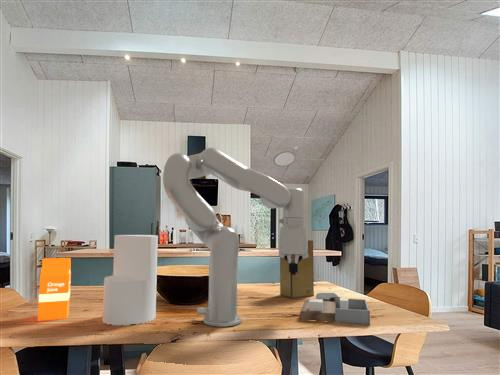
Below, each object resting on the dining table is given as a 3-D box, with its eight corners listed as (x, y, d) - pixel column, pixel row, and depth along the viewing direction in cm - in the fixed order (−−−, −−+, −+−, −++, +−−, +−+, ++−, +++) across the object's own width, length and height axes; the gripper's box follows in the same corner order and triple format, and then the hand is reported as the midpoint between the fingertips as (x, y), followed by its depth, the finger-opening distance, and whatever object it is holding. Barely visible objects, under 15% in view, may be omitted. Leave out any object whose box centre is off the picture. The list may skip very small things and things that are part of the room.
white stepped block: (129, 310, 139) (132, 234, 141) (166, 315, 131) (168, 235, 133) (90, 320, 123) (94, 236, 126) (129, 328, 115) (132, 237, 118)
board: (300, 320, 126) (300, 311, 127) (305, 308, 144) (305, 300, 144) (335, 322, 124) (335, 313, 124) (335, 310, 141) (335, 302, 141)
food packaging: (301, 292, 176) (301, 239, 178) (315, 295, 168) (314, 240, 170) (278, 295, 169) (278, 239, 171) (291, 298, 161) (291, 240, 163)
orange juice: (41, 315, 130) (44, 257, 132) (69, 313, 133) (72, 256, 135) (37, 320, 123) (40, 259, 125) (66, 318, 126) (69, 258, 128)
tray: (335, 322, 124) (335, 308, 124) (335, 310, 141) (335, 298, 142) (369, 325, 121) (369, 310, 122) (366, 311, 139) (365, 299, 139)
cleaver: (348, 309, 144) (348, 303, 144) (323, 308, 144) (322, 303, 145) (334, 295, 173) (334, 290, 173) (313, 294, 174) (313, 290, 174)
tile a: (339, 300, 135) (348, 300, 134) (340, 297, 139) (348, 298, 138) (339, 313, 135) (348, 313, 134) (340, 310, 139) (348, 310, 138)
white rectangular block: (309, 310, 128) (309, 301, 128) (310, 307, 132) (310, 298, 132) (322, 311, 127) (322, 302, 127) (323, 308, 131) (322, 299, 131)
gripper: (271, 222, 132) (270, 275, 130) (313, 223, 129) (314, 277, 127) (274, 222, 139) (274, 272, 138) (315, 223, 136) (315, 274, 134)
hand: (293, 274), depth 132 cm, fingers closed
